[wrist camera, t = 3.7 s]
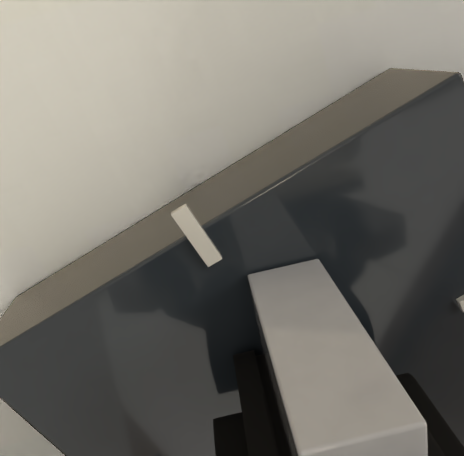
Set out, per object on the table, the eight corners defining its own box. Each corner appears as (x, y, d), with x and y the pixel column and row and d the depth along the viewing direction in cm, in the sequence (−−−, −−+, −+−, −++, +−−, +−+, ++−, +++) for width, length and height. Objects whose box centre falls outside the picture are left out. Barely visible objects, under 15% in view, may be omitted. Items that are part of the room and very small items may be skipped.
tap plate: (382, 44, 11) (457, 40, 8) (504, 347, 15) (582, 418, 12) (-1, 281, 12) (-61, 355, 9) (210, 498, 16) (216, 595, 13)
